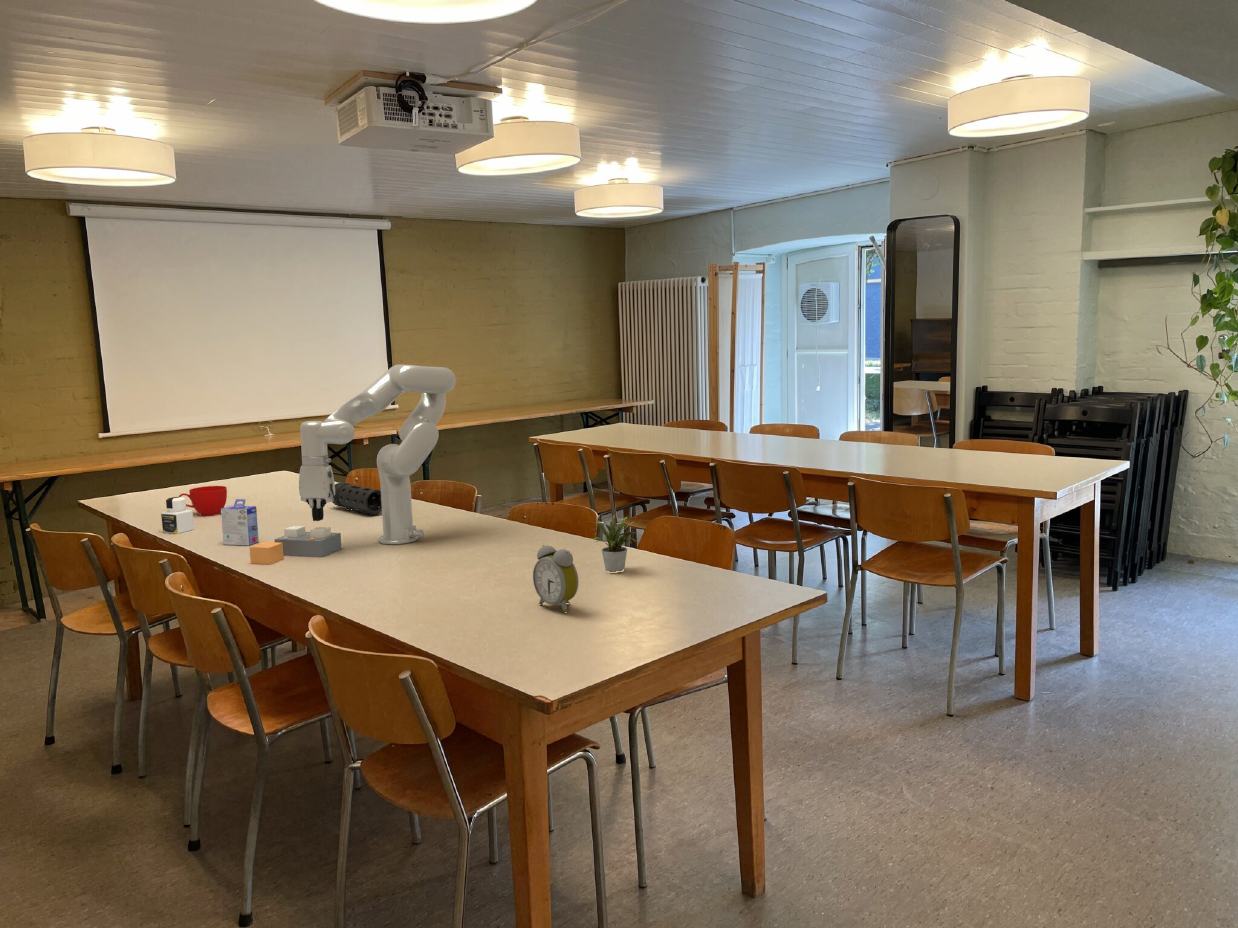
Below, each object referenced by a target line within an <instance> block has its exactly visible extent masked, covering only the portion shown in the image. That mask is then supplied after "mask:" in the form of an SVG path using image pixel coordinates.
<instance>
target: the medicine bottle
mask: <svg viewBox="0 0 1238 928" xmlns="http://www.w3.org/2000/svg"><path fill="white" fill-rule="evenodd" d="M165 504H166V511H162V512H161V513H160V515H161V526H162V533H165V534H175V535H179V534H183V533H186V532H190V531H193V530H194V529H195V527H194V525H195V524H194V515H193V514H194V513H193V510H192V509H187V506H186V504H187V502H186V498H185V497H183V496H181V497H179V496H173V497H168V498H167V499H166V500H165Z"/></svg>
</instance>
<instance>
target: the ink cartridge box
mask: <svg viewBox="0 0 1238 928" xmlns="http://www.w3.org/2000/svg"><path fill="white" fill-rule="evenodd" d="M246 500H247V499H245V498H244V499H243V498H236V499H235V501H234V504H233V505H230V506H229V505H228V506H224V508H221V512H220V514H221V515H220V516H221V528H222V529H221V530H222V543H223V545H225V546H226V545H228V546H229V545H230V546H253V545H256V544H259V542H260V541H259V540H260V539H259V526H258V525H259V524H258V511H257V506H255V505H245V504H246ZM240 502H242V503H240Z"/></svg>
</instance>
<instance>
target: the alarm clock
mask: <svg viewBox="0 0 1238 928" xmlns="http://www.w3.org/2000/svg"><path fill="white" fill-rule="evenodd" d="M536 559H537V561H536V563H535V565H534V567H533V570H532V580H533V585H534V589H535V591H536V593H537V595H538V596H539V598H540V599H539V603H538V605H539V604H542V605H543V604H544V603H546V604H548V605H559V604H560V606H561V608H562V610H563V612H567V613H568V607H567V604H566V603H569V604H570V600H572V599H573V598H574V597H575V595H577V592H578V589H579V575H578V571H577V568H576V566H575V564H574V557H573V554H572V552H571V551H570V550H567V549H565V548H564V549H558V550H557V549H555V547H553V546H551V545H545V544H543V545H542V546H541V547H540V548H539V549H538V550H537V553H536Z"/></svg>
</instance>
